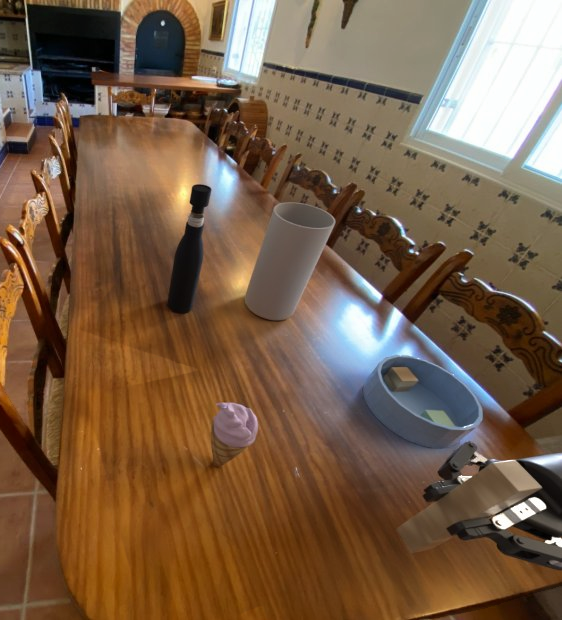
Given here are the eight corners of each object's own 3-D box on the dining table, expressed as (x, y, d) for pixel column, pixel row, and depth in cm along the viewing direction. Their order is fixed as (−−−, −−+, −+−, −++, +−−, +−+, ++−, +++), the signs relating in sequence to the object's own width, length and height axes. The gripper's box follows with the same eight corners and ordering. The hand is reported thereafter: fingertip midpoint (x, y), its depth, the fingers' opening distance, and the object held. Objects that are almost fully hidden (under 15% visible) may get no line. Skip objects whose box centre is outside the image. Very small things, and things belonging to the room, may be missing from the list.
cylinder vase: (266, 286, 98) (299, 198, 82) (303, 312, 90) (347, 221, 74) (233, 299, 93) (261, 208, 76) (270, 328, 85) (309, 234, 69)
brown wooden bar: (429, 549, 45) (543, 487, 34) (410, 553, 45) (518, 491, 33) (413, 525, 47) (515, 459, 36) (395, 528, 47) (491, 462, 35)
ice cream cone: (191, 447, 60) (209, 393, 51) (224, 438, 62) (247, 384, 52) (209, 486, 56) (232, 434, 46) (244, 475, 57) (273, 423, 48)
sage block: (444, 438, 64) (457, 427, 62) (425, 438, 64) (437, 427, 62) (432, 421, 67) (443, 410, 65) (414, 420, 67) (425, 410, 65)
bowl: (482, 450, 64) (507, 432, 60) (390, 446, 63) (409, 427, 59) (425, 376, 76) (442, 357, 72) (348, 372, 76) (361, 352, 72)
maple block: (408, 391, 72) (418, 380, 70) (393, 391, 72) (402, 380, 70) (397, 377, 75) (407, 366, 73) (382, 378, 74) (391, 367, 72)
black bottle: (188, 316, 86) (214, 196, 67) (163, 309, 88) (181, 190, 68) (195, 301, 91) (221, 185, 71) (171, 294, 92) (190, 179, 73)
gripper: (603, 569, 39) (472, 599, 36) (488, 449, 49) (379, 465, 47) (674, 546, 34) (529, 580, 31) (530, 419, 45) (412, 435, 42)
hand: (440, 511), depth 39 cm, fingers closed on brown wooden bar, 3 cm apart
